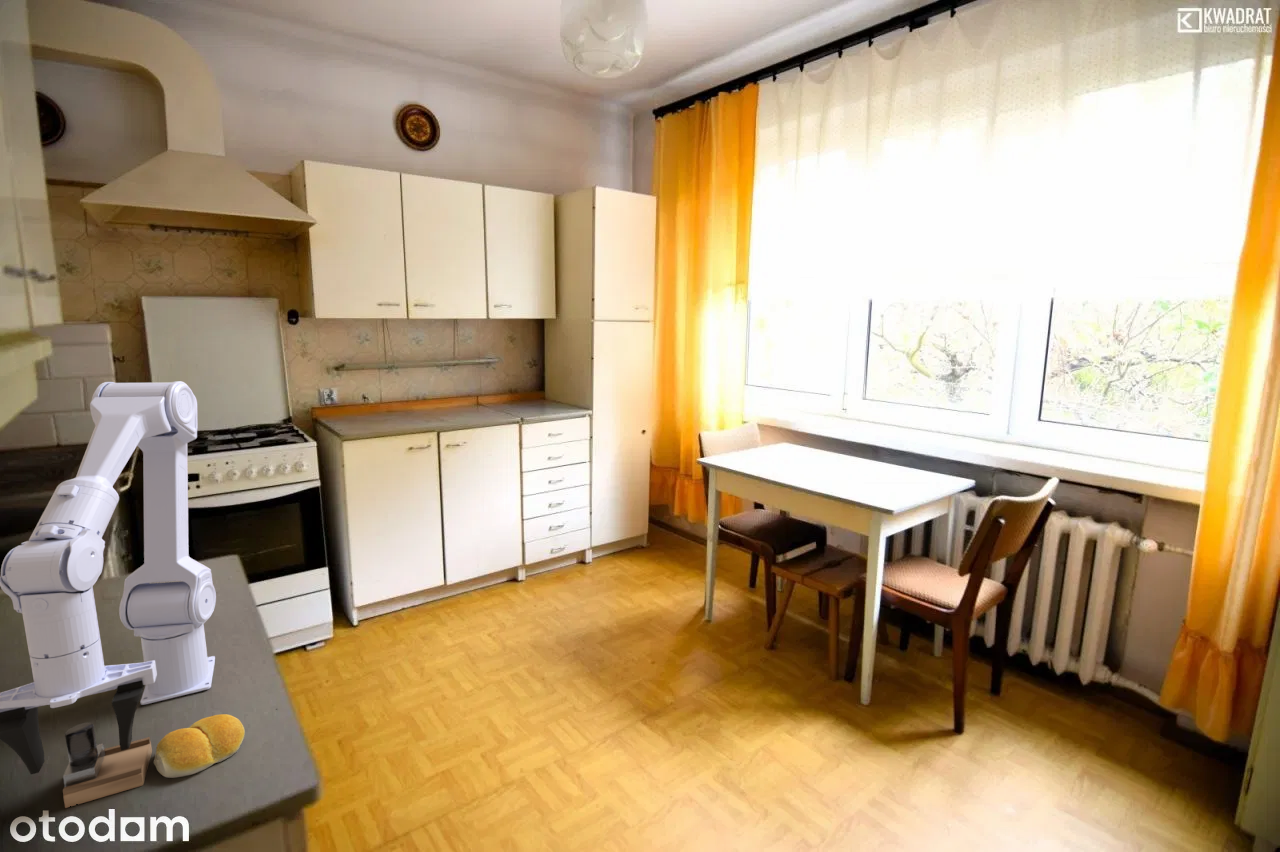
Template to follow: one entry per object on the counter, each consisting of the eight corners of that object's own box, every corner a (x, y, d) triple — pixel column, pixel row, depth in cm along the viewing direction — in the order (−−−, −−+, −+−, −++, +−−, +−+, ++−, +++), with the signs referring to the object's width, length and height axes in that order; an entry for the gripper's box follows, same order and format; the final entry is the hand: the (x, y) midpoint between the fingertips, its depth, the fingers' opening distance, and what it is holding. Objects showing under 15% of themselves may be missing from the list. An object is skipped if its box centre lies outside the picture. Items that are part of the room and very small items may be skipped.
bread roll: (256, 747, 77) (253, 718, 77) (171, 790, 70) (167, 759, 70) (228, 721, 82) (225, 694, 81) (145, 759, 75) (141, 730, 74)
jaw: (76, 762, 72) (69, 721, 71) (105, 754, 73) (99, 714, 72) (65, 788, 68) (57, 745, 67) (96, 779, 69) (89, 737, 68)
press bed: (80, 771, 73) (77, 755, 72) (152, 751, 76) (149, 736, 76) (65, 808, 67) (62, 790, 67) (143, 785, 71) (140, 768, 70)
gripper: (-44, 682, 61) (-21, 804, 63) (143, 644, 68) (158, 755, 70) (-16, 649, 67) (4, 761, 69) (153, 617, 74) (166, 720, 76)
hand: (83, 756), depth 70 cm, fingers open, 7 cm apart
